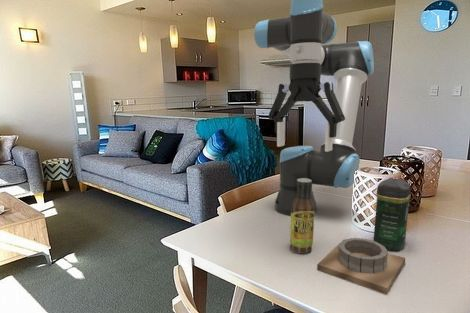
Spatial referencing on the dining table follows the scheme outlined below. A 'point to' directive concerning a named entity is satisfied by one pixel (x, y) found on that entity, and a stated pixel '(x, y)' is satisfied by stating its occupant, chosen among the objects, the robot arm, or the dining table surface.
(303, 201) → the sauce bottle
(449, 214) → the dining table surface
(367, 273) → the ring collar
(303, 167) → the robot arm
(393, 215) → the coffee jar
